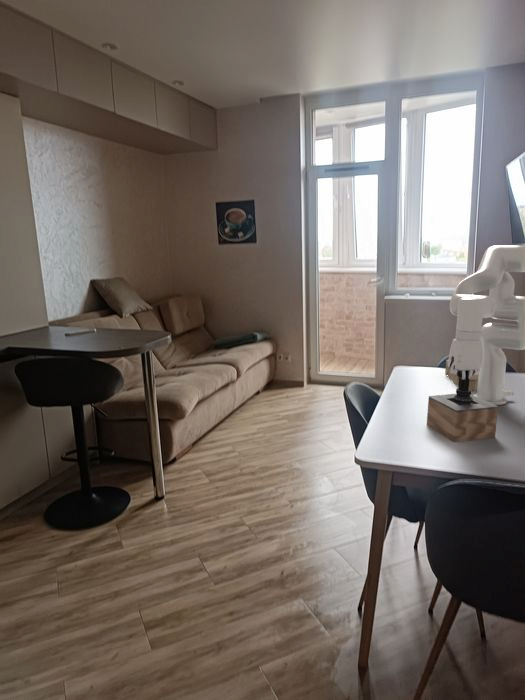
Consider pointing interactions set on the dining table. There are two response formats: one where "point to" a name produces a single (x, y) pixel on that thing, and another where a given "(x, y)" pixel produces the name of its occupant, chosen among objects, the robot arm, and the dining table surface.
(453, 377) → the block tower
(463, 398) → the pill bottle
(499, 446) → the dining table surface
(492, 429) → the sleeve block
